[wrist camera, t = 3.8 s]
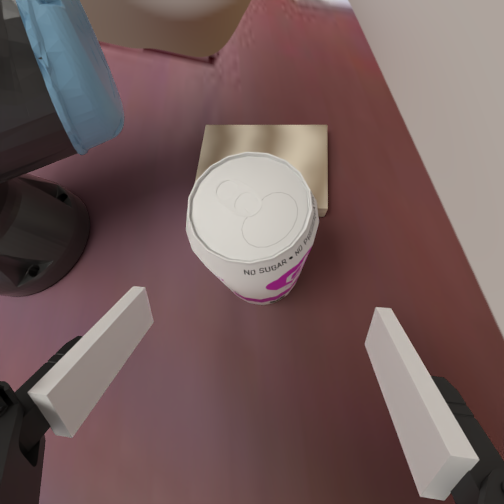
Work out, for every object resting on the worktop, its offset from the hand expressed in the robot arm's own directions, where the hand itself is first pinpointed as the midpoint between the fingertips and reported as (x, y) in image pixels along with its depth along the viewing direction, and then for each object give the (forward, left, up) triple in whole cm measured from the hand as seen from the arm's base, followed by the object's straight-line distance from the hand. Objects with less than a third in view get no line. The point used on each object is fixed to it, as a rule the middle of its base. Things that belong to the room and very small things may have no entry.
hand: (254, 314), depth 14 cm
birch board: (-2, +19, -12) cm, 23 cm away
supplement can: (-1, +6, -13) cm, 14 cm away
